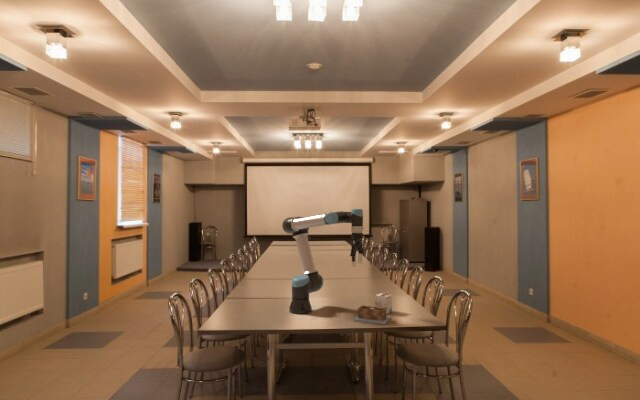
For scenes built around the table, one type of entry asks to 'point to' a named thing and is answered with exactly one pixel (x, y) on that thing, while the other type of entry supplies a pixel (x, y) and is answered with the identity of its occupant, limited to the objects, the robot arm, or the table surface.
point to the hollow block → (372, 313)
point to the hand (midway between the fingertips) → (357, 265)
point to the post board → (372, 320)
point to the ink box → (384, 301)
